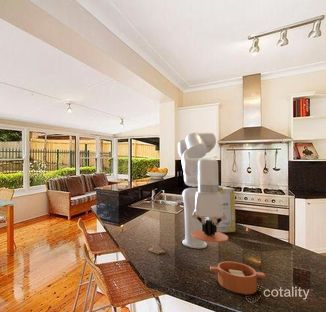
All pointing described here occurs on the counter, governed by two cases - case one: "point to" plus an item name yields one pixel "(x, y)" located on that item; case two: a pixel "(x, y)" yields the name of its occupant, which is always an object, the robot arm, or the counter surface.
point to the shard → (157, 249)
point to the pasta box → (226, 211)
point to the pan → (237, 277)
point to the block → (236, 272)
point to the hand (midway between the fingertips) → (209, 233)
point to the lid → (209, 234)
